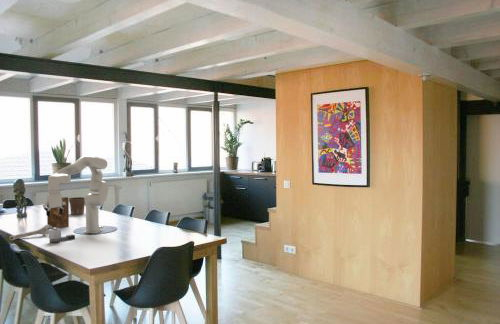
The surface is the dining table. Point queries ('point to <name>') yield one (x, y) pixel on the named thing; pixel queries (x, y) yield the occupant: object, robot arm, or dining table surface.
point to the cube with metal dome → (54, 233)
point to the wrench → (32, 233)
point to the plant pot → (77, 205)
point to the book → (59, 216)
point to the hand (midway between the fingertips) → (54, 215)
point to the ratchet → (62, 238)
